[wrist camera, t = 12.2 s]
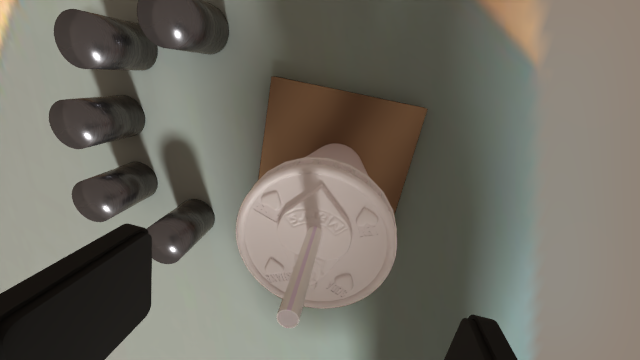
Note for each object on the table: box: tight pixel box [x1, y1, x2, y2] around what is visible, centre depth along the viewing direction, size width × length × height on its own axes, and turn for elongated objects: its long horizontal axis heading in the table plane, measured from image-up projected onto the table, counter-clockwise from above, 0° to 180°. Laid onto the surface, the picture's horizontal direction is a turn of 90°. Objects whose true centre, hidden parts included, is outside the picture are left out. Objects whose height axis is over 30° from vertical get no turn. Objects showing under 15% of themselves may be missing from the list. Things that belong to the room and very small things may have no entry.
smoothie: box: [236, 143, 397, 328], centre depth 14 cm, size 6×6×14 cm
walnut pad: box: [258, 77, 427, 215], centre depth 21 cm, size 10×10×1 cm
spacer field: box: [49, 0, 229, 264], centre depth 20 cm, size 9×17×4 cm, turn 169°
